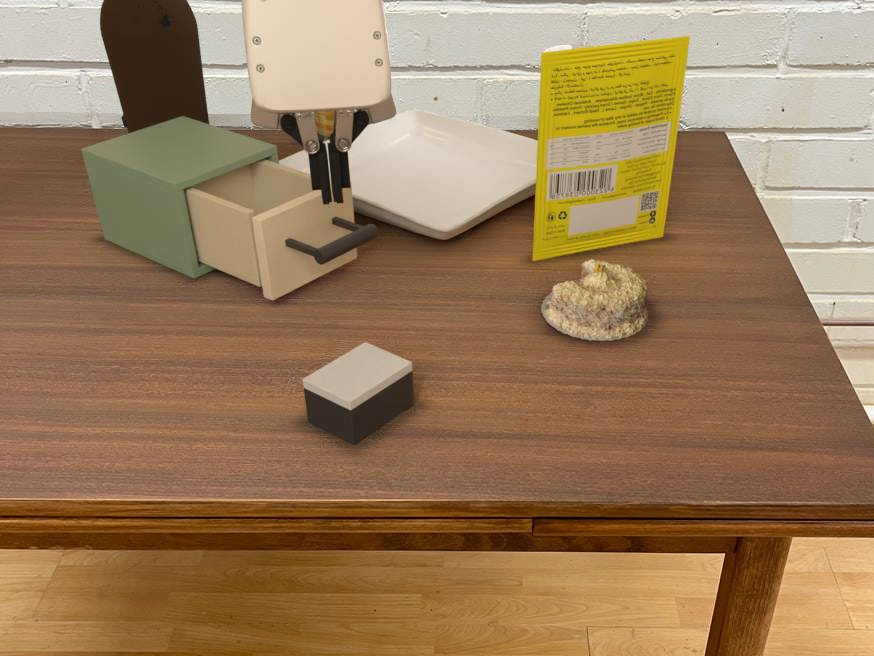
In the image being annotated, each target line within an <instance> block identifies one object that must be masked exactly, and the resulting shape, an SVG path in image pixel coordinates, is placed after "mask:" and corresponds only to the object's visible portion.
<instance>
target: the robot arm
mask: <svg viewBox="0 0 874 656" xmlns="http://www.w3.org/2000/svg"><path fill="white" fill-rule="evenodd" d="M240 1H241V3H240V5H241V15H242V26H243V27H242V28H243V39H244V49H245V57H246V66H247V76H248V81H249V87H250V91H251V96H252V99H251V108H250V121H251V123H252V124H253V125H254V126H256V127H260V128H266V129H270V130H271V129H272V130H276V131H277V130H280V131H283V132H285V134H286V135H288V136H289V137H290V138H291V139H293V140H294V141H295V142H296V143H298V144H299V145H300V146H301V147H303V150H305V151H306V152H307V153H308V157H309V166H310V175H311V184H312V190H321V194H322V200H323V205H324V204H330V202H332V196H331V186H330V175H331V185H332V192H333V198H334V202H337V204H338V203H343V192H342V188H351V184H350V172H349V160H348V150H350V148H351V145H352V143H353V142H354V141H355V139H356V138H357V137H358V136H359V135H360V134H361V133H362V131H363V130H364V129H365V128H366V127H367V126H368V125H370V124H375V123H378V122H381V121H384V120H388V119H391V118H393V117H394V116H395V115H397V108H396V105H395V101H394V98H393V94H392V69H391V67H392V66H391V57H390V45H389V44H390V43H389V35H388V26H387V18H386V12H385V11H386V9H385V4H384V0H240ZM320 111H334V123H333V132H332V134H331V135H330V143H327V144H328V154H329V165H330V175H329V165H328V155H327V149H326V144H325V143H323V138H322V136H321V135H320V134H319V133H318V132H317V128H316V124H315V120H314V116H313V112H320Z"/></svg>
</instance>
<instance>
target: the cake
mask: <svg viewBox="0 0 874 656" xmlns="http://www.w3.org/2000/svg"><path fill="white" fill-rule="evenodd" d="M635 272H636V271H634V270H633V267H629V266H627V267H626V266H625V264H620V263H619V264H617V263H614V262H607V261H604V259H601V260H600V259H596V260H595V259H592V258H591V259H588V260H585V261H584V262H582V263H581V272H580V273H581V278H579V281H578V280H576V279H574V280H571V281H570V280H566V281H564V282H559V283H557V284H555V285H553V286H552V290H551V292H549V294H548V295H546V296H545V298H544V299H543V300H542V303H541V304H540V307H541V309H540V312H541V313H542V317H543V318H544V319H545V322H547V323H548V324H549V325H550V326H551V327H552V328H554V329H555V330H557V331H558V332H561V333H562V334H564V335H568V336H570V337H572V338H579V339H581V340H586V341H587V340H588V341H592V342H593V341H595V342H596V341H600V342H606V341H610V342H613V341H616V340H623V339H625V338H629V337H632V336H636V334H638V333H639V332H641V331H642V330H643V328H646V325H647V323H648V322H649V318H650V316H649V311H648V310H647V307H646V306H647V305H646V301H647V295H648V291H649V287H648V285H649V282H648V280H646V279H645V278H644V277H643V276H642V275H641V274H640V273H635Z"/></svg>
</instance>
